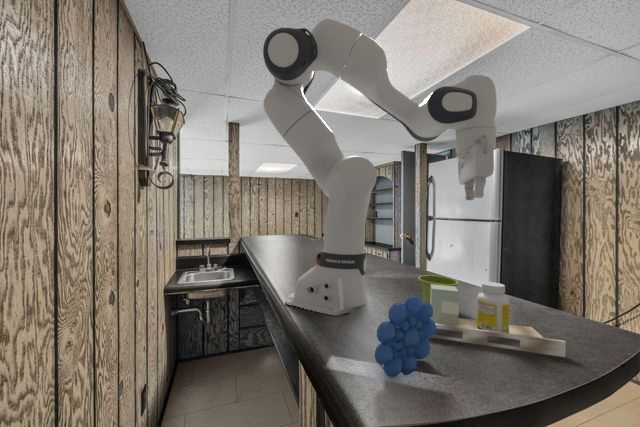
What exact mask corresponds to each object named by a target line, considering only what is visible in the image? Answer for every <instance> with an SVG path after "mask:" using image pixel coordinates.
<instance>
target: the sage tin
mask: <svg viewBox="0 0 640 427" xmlns="http://www.w3.org/2000/svg"><path fill="white" fill-rule="evenodd" d="M459 294H460V293H459V290H458V288H457V286H456V287H455V286H444V285H434V284H431V286H430V304H431V306H432V308H433V316H432V317H431V318H430V319H432V320H433V321H434V322H435V323H436V324H444V325H451V326H458V318H459V315H460V302H459V298H460V296H459Z"/></svg>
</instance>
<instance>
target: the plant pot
mask: <svg viewBox="0 0 640 427" xmlns="http://www.w3.org/2000/svg"><path fill="white" fill-rule="evenodd" d="M418 280H419V284H420V286H421V294H422V302H428V303H430V286H431V284H434V285H444V286H455V287H456V288H457V286H458V285H459V283H460V282H459V281H458V280H456V279H454V278H451V277H447V276H443V275H442V276H441V275H433V274H432V275H430V274H429V275H427V274H425V275H420V276H418Z"/></svg>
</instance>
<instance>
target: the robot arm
mask: <svg viewBox="0 0 640 427" xmlns="http://www.w3.org/2000/svg"><path fill="white" fill-rule="evenodd" d="M262 52H263V53H262V55H263V60H264V61H263V62H264V64H265V66H266V68H267V70H268V72H269V73H270V74H271V75H272V76H273V78H274V80H273V84H272V88H270V90H268V91H267V93H266V94H265V97H264V99H263V108H264V109H263V110H264V112H265V113H266V116H267V117H268V119H269V120H270V122H271V123H272V125H273V126H274V128H275V129H276V130H277V132H278V133H279V135H280V136H281V137H282V138H283V140H284V141H285V142H286V143H287V144H288V145H289V147H290V149H291V150H293V152H294V153H295V154H296V155H297V156H298V158H299V159H300V160H301V162H302V163H303V165H304V166H305V167H306V169H307V171H308V173H310V176H311V177H312V178H313V180H314V182H315V183H316V184H317V185H318V187H319V188H320V190H321V191H322V192H323V194H324V196H326V197H327V198H328V200H327V207H326V214H325V220H324V224H323V227H324V228H323V250H321V251H319V253H317V254H316V255H315V258H314V260H316V264H315V265H314V266H312V267H311V268H310V269H309V270H307V271H306V272H305V273H304V274H302V275H301V276H299V278H298V279H297V281H296V284H295V287H294V292H291V293H290V294H289V295H288V296H287V297H286V299H285V304H286V303H288V304H291V305H294V306H297V307H301V308H300V309H302V308H304V309H303V310H306V309H307V311H311V310H312V311H311V312H315V311H316V313H321V314H325V315H329V316H337V317H338V316H341V315H344V314H350V313H351V312H352V310H353V308H357V307H362V306H364V305H366V304H368V302H369V300H368V299H369V298H368V294H367V288H366V279H365V278H366V277H365V275H366V272H367V257H366V256H367V254H366V252H365V240H366V238H365V236H366V235H365V234H366V222H367V215H368V211H369V206H370V201H371V196H372V192H373V189H374V188H375V185H376V182H377V178H378V177H377V176H378V175H377V170H376V168H375V166H374V164H373V163H372V162H371V161H370V159H368V158H366V157H363V156H359V155H352V156H351V155H350V156H345V155H344V153H343V152H342V150H341V148H340V146H339V145H338V142H337V139H336V136H335V133H334V132H333V131H332V129H331V128H330V127H329V126H328V125H327V123H326V122H325V121H324V120H323V119H322V117H321V116H320V115H319V114H318V112H317V111H316V110H315V109H314V107H313V106H312V105H311V103H309V101H308V99H307V98H306V96H305V95H306V93H307V91H308V90H309V88H310V86H311V85H312V83H313V81H314V79H315V75H316V72H319V71H323V72H327V73H330V74H332V75H333V76H334V77H336V78H338V79H340V80H341V81H343V82H345V83H346V84H348V85H349V86H350V87H352V88H354V89H355V90H357V91H358V92H359V93H361V95H363V96H364V97H365V98H366V99H368V100H369V101H370V102H371V103H372V104H374V106H376V107H378V108H379V109H381V110H382V111H383V112H385V113H386V114H387V115H389V116H391V117H392V118H394V120H396V121H397V122H399V123H400V124H401V125H402V126H403V127H404V129H405V130H407V133H409V134H410V136H411V137H412V138H414V139H415V140H416V141H417V142H418V141H419V142H423V143H424V142H425V143H426V142H431V141H433V140H435V139H437V138H439V136H441V135H442V134H443V133H445V132H446V131H447V130H451V129H453V130H454V131H455V149H454V151H455V158H456V159H457V169H458V170H457V171H458V172H457V174H458V181H459V182H458V183H459V184H460V185H463V188H464V194H465V197H464V198H465V201H473V200H475V198H476V199H482V198H483V197H484V194H485V193H484V192H485V188H486V187H485V186H486V184H487V183H486V182H487V178H488V177H491V176H493V174H494V170H495V160H494V159H495V158H494V156H495V155H494V151H495V150H496V147H497V146H496V145H497V141H496V140H497V126H496V123H495V117H496V115H497V106H498V104H497V92H496V86H495V83H494V81H493V79H491V77H489V76H486V75H482V74H474V75H473V74H472V75H469V76H466V77H464V78H463V79H462V80H460V81H459V82H457V83H456V84H453V85H449V86H448V85H445V86H442V87H439V88H436V89H435V90H434V91H433V92H431V93H430V94H429V95H428V96H427V97H426V98H425V99H424V100H423V102H421V103H418V102H414V101H413V100H411V99H410V98H409V97H408V96H406V95H405V94H404V93H402V92H401V91H399V90H398V89H396V88H395V86H393V84H392V82H391V81H390V79H389V78H390V77H389V74H388V60H387V55H386V53H385V50H384V48H383V47H382V46H381V44H379V43H378V42H377V41H376V40H375V39H373V38H372V37H370V36H369V35H367V34H365V33H364V32H362V31H360V30H358V29H357V28H354V27H352V26H350V25H348V24H345V23H343V22H340V21H338V20H334V19H331V18H324V19H321V20H320V21H319V22H318V23H316V25H315V26H314V28H313V29H312V31H310V30H309V29H307V28H304V27H302V28H292V27H279V28H276V29H274V30H272V31H271V32H270V33H269V34H268V35H267V36H266V38H265V41H264V43H263V48H262ZM297 307H296V308H297Z"/></svg>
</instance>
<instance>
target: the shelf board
mask: <svg viewBox="0 0 640 427" xmlns="http://www.w3.org/2000/svg"><path fill="white" fill-rule="evenodd" d="M435 324H436V323H435ZM431 339H439V340H445V341H454V342H459V343H467V344H471V345H472V344H473V345H479V346H485V347H486V346H487V347H492V348H494V347H495V348H499V349H508V350H512V351H513V350H514V351H519V352H520V351H521V352H527V353H533V354H541V355H548V356H552V357H553V356H555V357H561V358H566V349H567V348H566V347H567V345H566V344H567V343H566V342H567V341H565V340H563V339H562V340H561V339H556V338H548V337H547V338H546V337H543V335H542V334H540V332H538V331H537V330H536V329H535V328H533V327H532V326H524V325H519V324H518V325H516V324H510V323H509V333H504V332H496V331H489V330H481V329H477V319H468V318H460V317H458V326H451V325H444V324H436V333H435V335H434V336H433V337H431Z"/></svg>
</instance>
